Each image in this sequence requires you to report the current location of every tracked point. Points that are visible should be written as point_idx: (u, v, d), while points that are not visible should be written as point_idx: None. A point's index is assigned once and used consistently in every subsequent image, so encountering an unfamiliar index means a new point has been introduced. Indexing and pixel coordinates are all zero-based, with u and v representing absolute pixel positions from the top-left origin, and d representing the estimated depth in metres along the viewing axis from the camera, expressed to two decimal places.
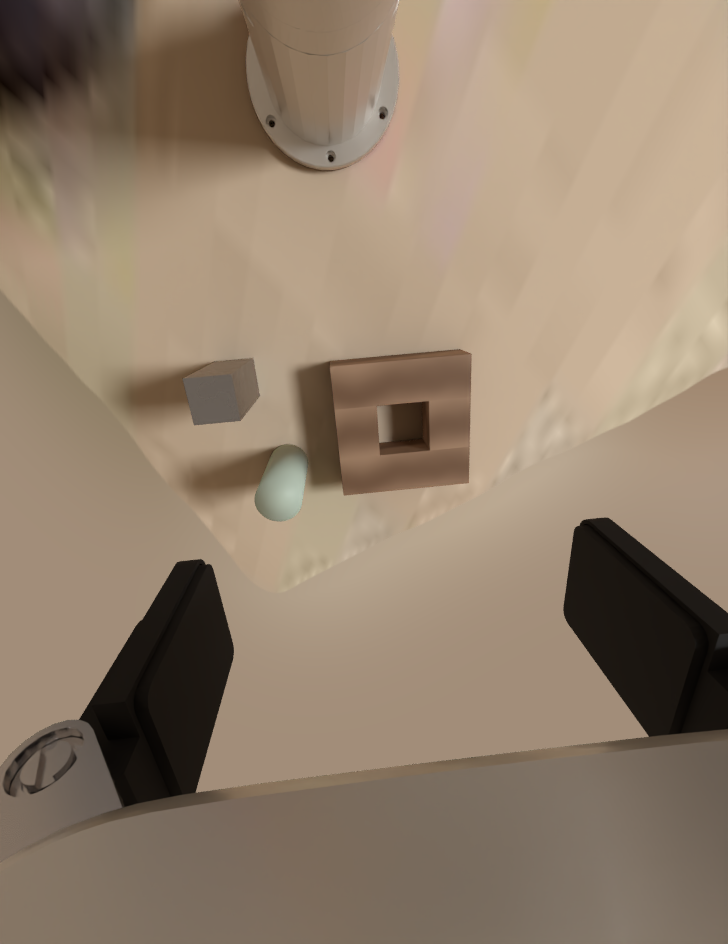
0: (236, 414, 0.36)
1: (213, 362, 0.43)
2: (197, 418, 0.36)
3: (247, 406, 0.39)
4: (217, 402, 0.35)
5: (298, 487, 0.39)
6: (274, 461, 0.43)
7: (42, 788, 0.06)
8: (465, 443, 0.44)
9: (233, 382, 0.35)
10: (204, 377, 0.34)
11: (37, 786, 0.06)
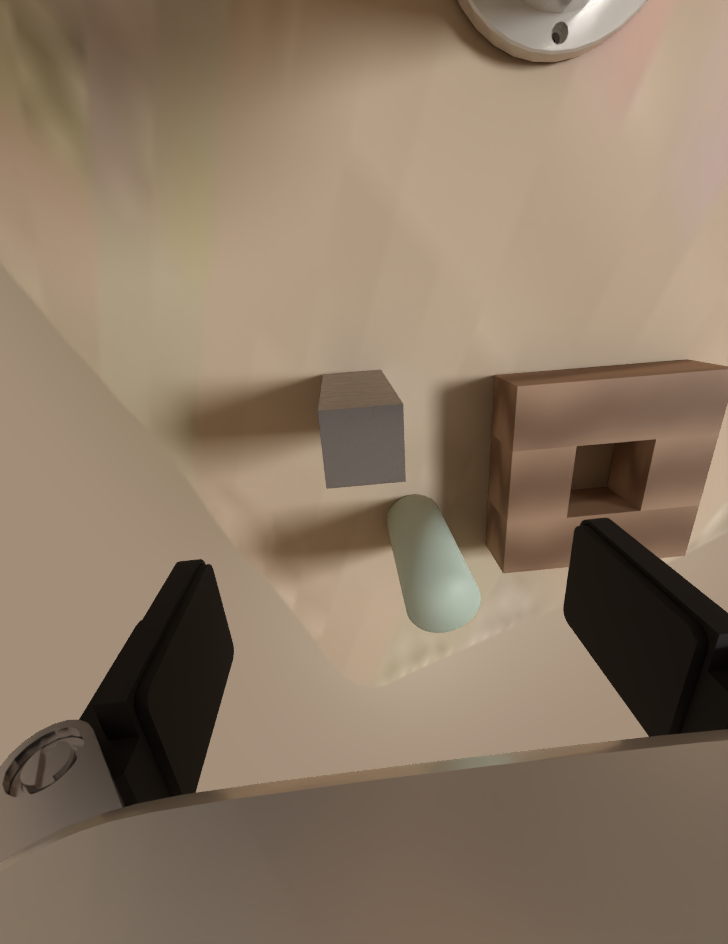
0: (400, 471, 0.21)
1: (324, 376, 0.28)
2: (333, 477, 0.21)
3: None
4: (370, 452, 0.20)
5: (475, 582, 0.24)
6: (413, 528, 0.28)
7: (42, 788, 0.06)
8: (694, 500, 0.30)
9: (402, 417, 0.20)
10: (355, 409, 0.19)
11: (37, 786, 0.06)
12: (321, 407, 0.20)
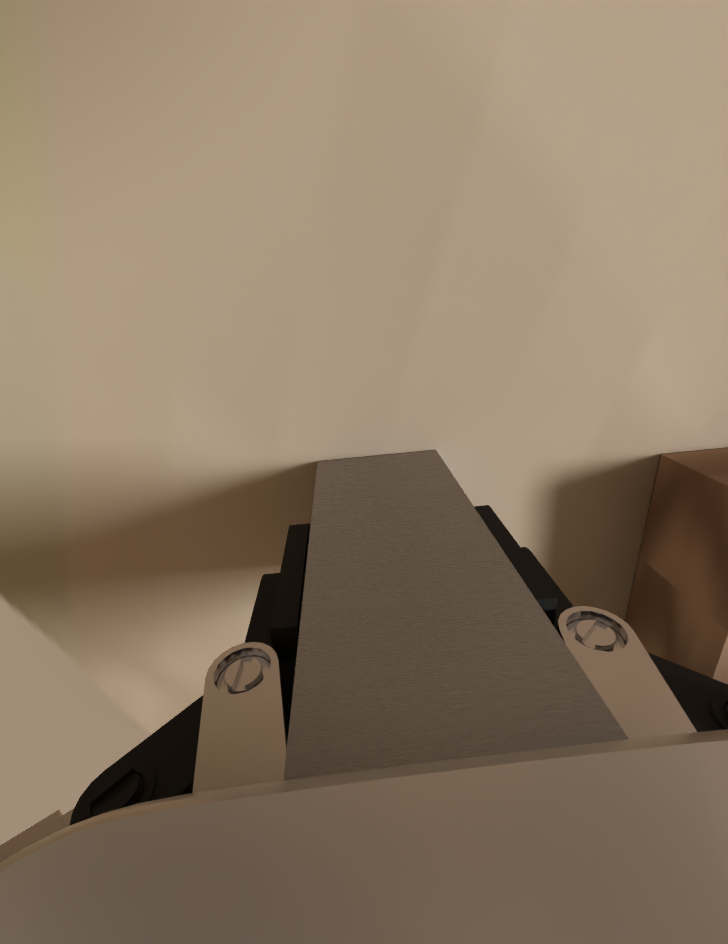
0: None
1: (318, 469, 0.13)
2: None
3: None
4: None
5: None
6: None
7: (236, 691, 0.07)
8: None
9: None
10: None
11: (234, 688, 0.07)
12: (301, 729, 0.05)
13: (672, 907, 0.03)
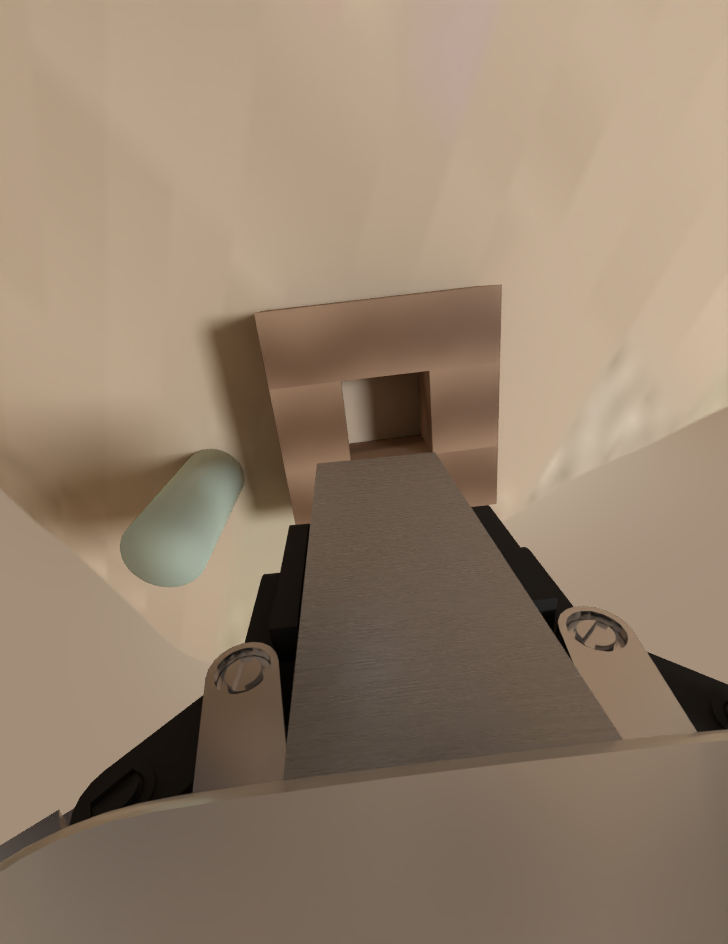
0: None
1: (318, 471, 0.13)
2: None
3: None
4: None
5: (200, 529, 0.22)
6: (173, 479, 0.26)
7: (237, 691, 0.07)
8: (491, 440, 0.27)
9: None
10: None
11: (234, 688, 0.07)
12: (300, 733, 0.05)
13: (672, 907, 0.03)
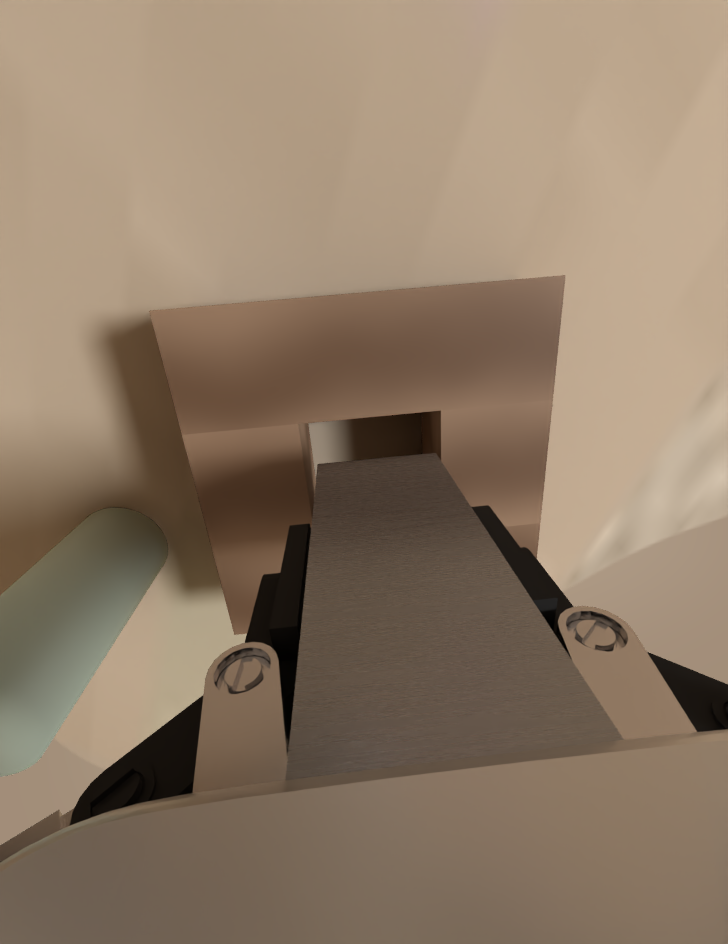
0: None
1: (319, 472, 0.13)
2: None
3: None
4: None
5: (33, 687, 0.12)
6: (31, 569, 0.16)
7: (236, 691, 0.07)
8: (530, 515, 0.18)
9: None
10: None
11: (234, 688, 0.07)
12: (302, 735, 0.05)
13: (672, 907, 0.03)
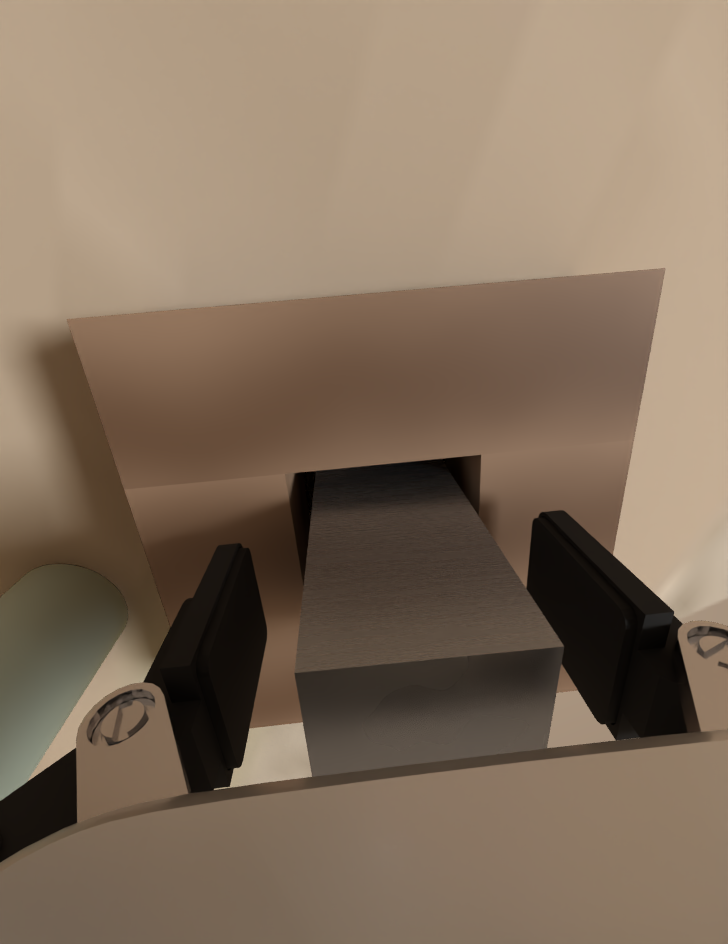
0: None
1: None
2: None
3: None
4: (450, 757, 0.07)
5: None
6: None
7: (118, 741, 0.06)
8: None
9: None
10: (416, 664, 0.06)
11: (114, 739, 0.06)
12: (308, 640, 0.07)
13: (672, 907, 0.03)
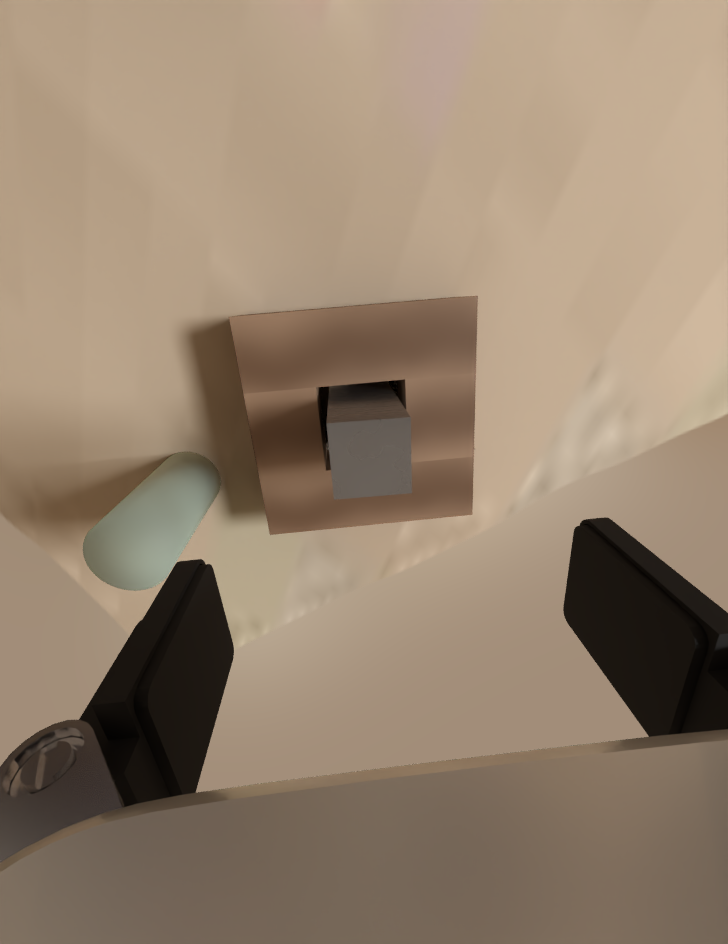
0: (407, 483, 0.21)
1: (330, 386, 0.28)
2: (341, 489, 0.21)
3: None
4: (378, 464, 0.20)
5: (165, 532, 0.22)
6: (144, 480, 0.26)
7: (42, 788, 0.06)
8: (467, 451, 0.27)
9: None
10: (364, 422, 0.20)
11: (37, 786, 0.06)
12: (330, 419, 0.20)
13: (672, 907, 0.03)
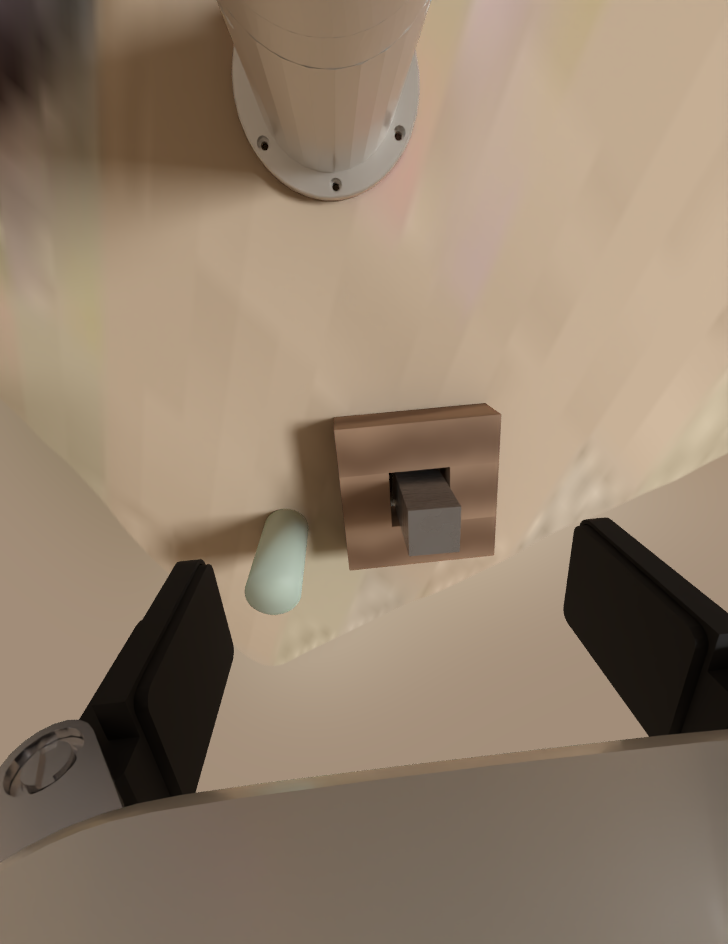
0: (456, 545, 0.32)
1: None
2: (414, 549, 0.32)
3: None
4: (439, 534, 0.32)
5: (297, 576, 0.33)
6: (268, 536, 0.37)
7: (43, 788, 0.06)
8: (491, 512, 0.38)
9: None
10: (431, 509, 0.31)
11: (38, 786, 0.06)
12: (408, 507, 0.31)
13: (672, 907, 0.03)
